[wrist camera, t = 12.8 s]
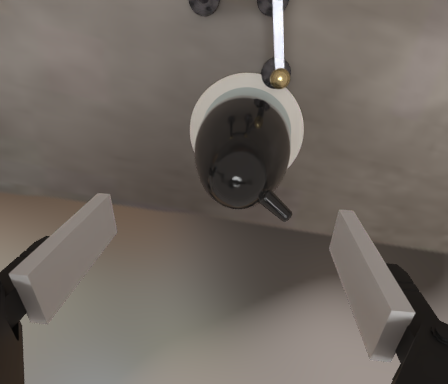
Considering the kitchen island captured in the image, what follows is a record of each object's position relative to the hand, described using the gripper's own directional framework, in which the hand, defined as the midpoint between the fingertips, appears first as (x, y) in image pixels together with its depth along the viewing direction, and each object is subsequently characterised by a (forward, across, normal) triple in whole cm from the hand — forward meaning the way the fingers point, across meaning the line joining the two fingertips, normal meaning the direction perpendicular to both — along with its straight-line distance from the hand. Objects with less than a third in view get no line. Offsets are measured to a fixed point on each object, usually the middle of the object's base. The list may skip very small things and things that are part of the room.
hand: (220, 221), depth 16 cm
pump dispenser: (+20, +1, 0) cm, 20 cm away
